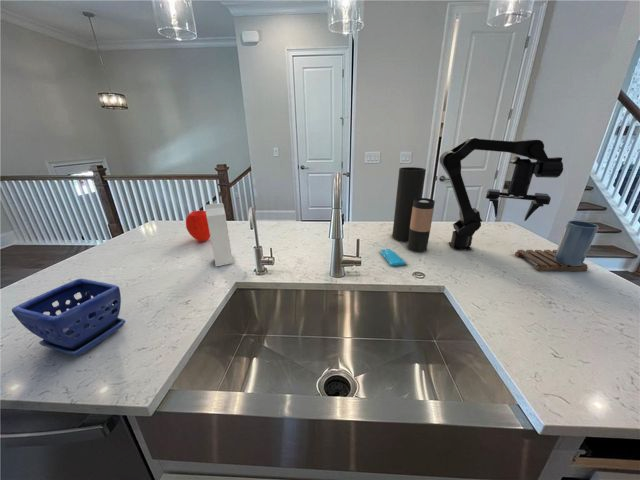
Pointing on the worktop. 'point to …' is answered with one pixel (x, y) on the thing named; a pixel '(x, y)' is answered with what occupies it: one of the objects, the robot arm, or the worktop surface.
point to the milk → (219, 233)
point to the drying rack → (548, 261)
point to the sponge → (392, 257)
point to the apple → (198, 225)
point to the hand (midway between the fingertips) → (510, 218)
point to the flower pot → (73, 315)
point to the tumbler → (575, 242)
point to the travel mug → (420, 224)
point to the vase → (406, 199)
